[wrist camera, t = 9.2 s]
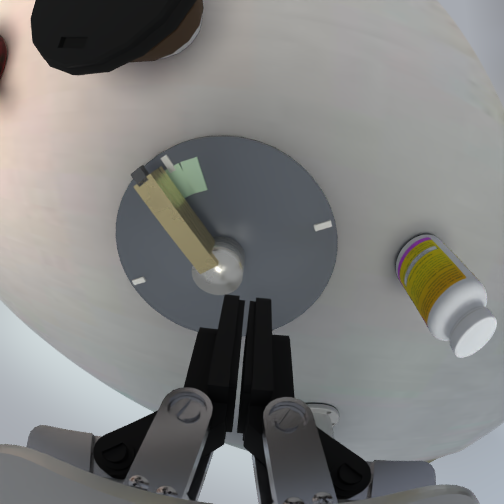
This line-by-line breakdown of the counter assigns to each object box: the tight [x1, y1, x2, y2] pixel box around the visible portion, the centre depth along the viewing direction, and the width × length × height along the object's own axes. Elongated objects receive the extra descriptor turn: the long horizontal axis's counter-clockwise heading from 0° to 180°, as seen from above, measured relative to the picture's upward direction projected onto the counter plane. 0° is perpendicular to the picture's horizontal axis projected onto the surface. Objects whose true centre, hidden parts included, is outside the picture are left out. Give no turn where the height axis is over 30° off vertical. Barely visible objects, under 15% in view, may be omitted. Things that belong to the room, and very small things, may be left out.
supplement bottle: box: [396, 235, 497, 358], centre depth 22 cm, size 7×7×13 cm
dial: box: [116, 136, 337, 336], centre depth 28 cm, size 22×22×1 cm
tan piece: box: [131, 165, 245, 295], centre depth 24 cm, size 13×4×4 cm, turn 31°
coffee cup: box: [31, 0, 203, 75], centre depth 12 cm, size 11×11×12 cm
